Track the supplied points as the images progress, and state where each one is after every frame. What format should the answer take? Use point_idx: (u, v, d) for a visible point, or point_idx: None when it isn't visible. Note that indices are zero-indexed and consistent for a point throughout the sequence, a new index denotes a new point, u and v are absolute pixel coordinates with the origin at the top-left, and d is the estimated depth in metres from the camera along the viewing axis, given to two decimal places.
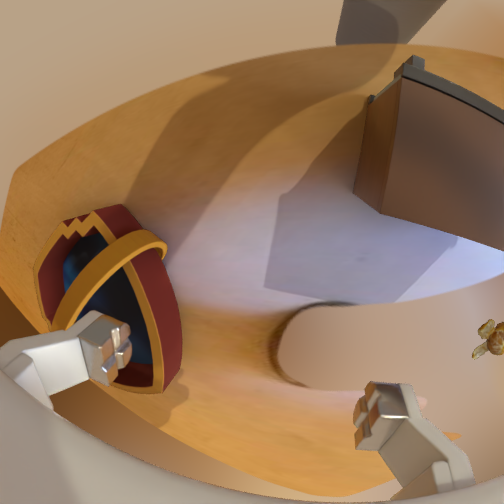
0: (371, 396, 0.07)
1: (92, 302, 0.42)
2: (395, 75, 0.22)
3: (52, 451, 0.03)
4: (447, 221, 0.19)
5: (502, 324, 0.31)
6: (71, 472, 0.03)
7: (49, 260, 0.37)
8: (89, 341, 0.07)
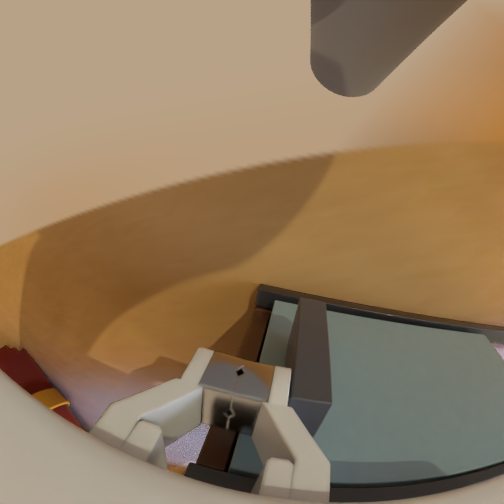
0: (239, 374, 0.08)
1: None
2: (296, 316, 0.12)
3: (52, 451, 0.03)
4: None
5: None
6: (71, 472, 0.03)
7: None
8: (218, 389, 0.07)
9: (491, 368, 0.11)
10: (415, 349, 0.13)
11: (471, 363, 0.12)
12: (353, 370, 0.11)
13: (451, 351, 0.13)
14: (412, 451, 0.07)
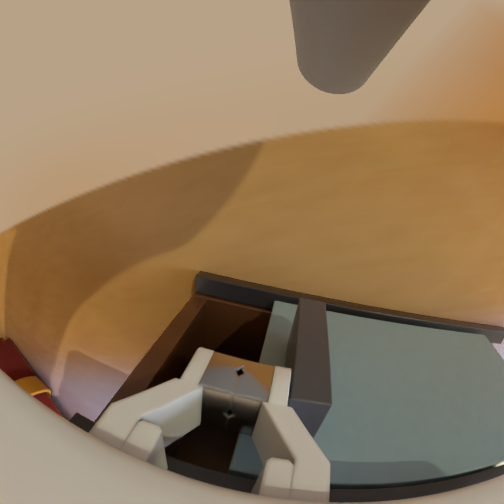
0: (239, 374, 0.08)
1: None
2: (295, 316, 0.12)
3: (52, 451, 0.03)
4: None
5: None
6: (71, 472, 0.03)
7: None
8: (218, 389, 0.07)
9: (491, 368, 0.11)
10: (415, 350, 0.13)
11: (471, 363, 0.12)
12: (353, 371, 0.11)
13: (451, 351, 0.13)
14: (412, 452, 0.07)
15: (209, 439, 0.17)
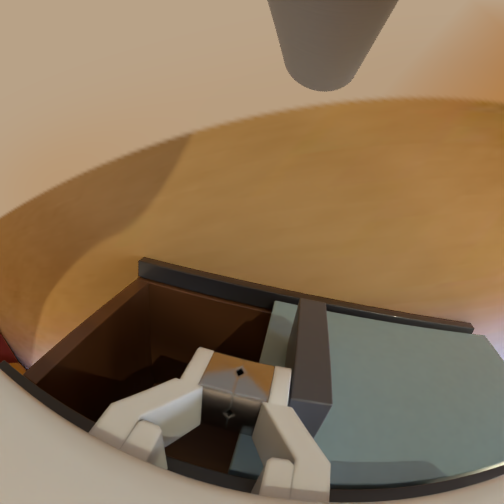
0: (239, 374, 0.08)
1: None
2: (296, 316, 0.12)
3: (52, 451, 0.03)
4: None
5: None
6: (71, 472, 0.03)
7: None
8: (218, 388, 0.07)
9: (491, 369, 0.11)
10: (415, 350, 0.13)
11: (471, 364, 0.12)
12: (353, 371, 0.11)
13: (451, 352, 0.13)
14: (412, 452, 0.07)
15: None
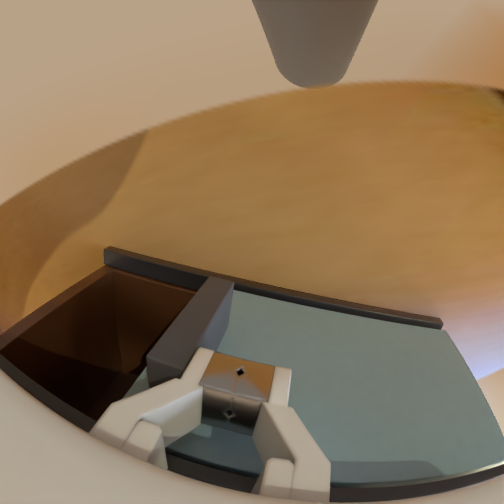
0: (239, 374, 0.08)
1: None
2: None
3: (52, 451, 0.03)
4: None
5: None
6: (71, 472, 0.03)
7: None
8: (218, 389, 0.07)
9: (444, 367, 0.12)
10: (348, 340, 0.14)
11: (418, 360, 0.12)
12: (264, 353, 0.12)
13: (395, 345, 0.14)
14: None
15: None
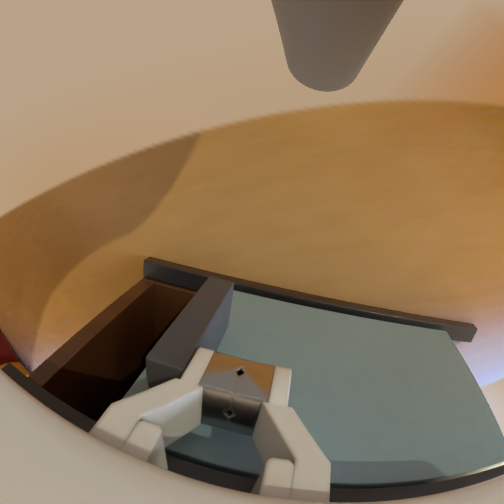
0: (239, 374, 0.08)
1: None
2: None
3: (52, 451, 0.03)
4: None
5: None
6: (71, 472, 0.03)
7: None
8: (218, 389, 0.07)
9: (444, 368, 0.12)
10: (348, 340, 0.14)
11: (418, 360, 0.12)
12: (264, 354, 0.12)
13: (395, 346, 0.14)
14: None
15: None
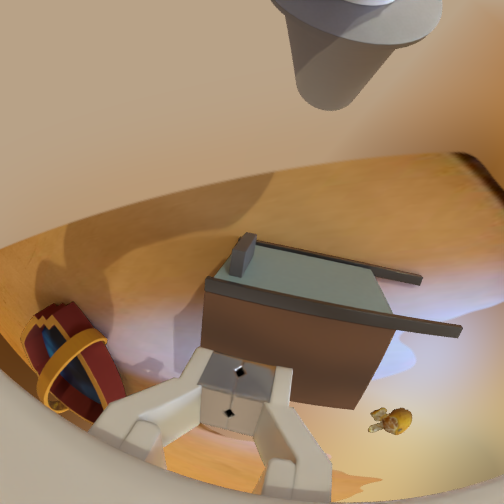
0: (240, 374, 0.08)
1: None
2: None
3: (52, 451, 0.03)
4: None
5: (398, 411, 0.39)
6: (71, 472, 0.03)
7: (31, 334, 0.45)
8: (217, 388, 0.07)
9: (360, 280, 0.29)
10: (309, 264, 0.31)
11: (345, 275, 0.30)
12: (270, 264, 0.29)
13: (334, 269, 0.31)
14: (286, 287, 0.25)
15: None
